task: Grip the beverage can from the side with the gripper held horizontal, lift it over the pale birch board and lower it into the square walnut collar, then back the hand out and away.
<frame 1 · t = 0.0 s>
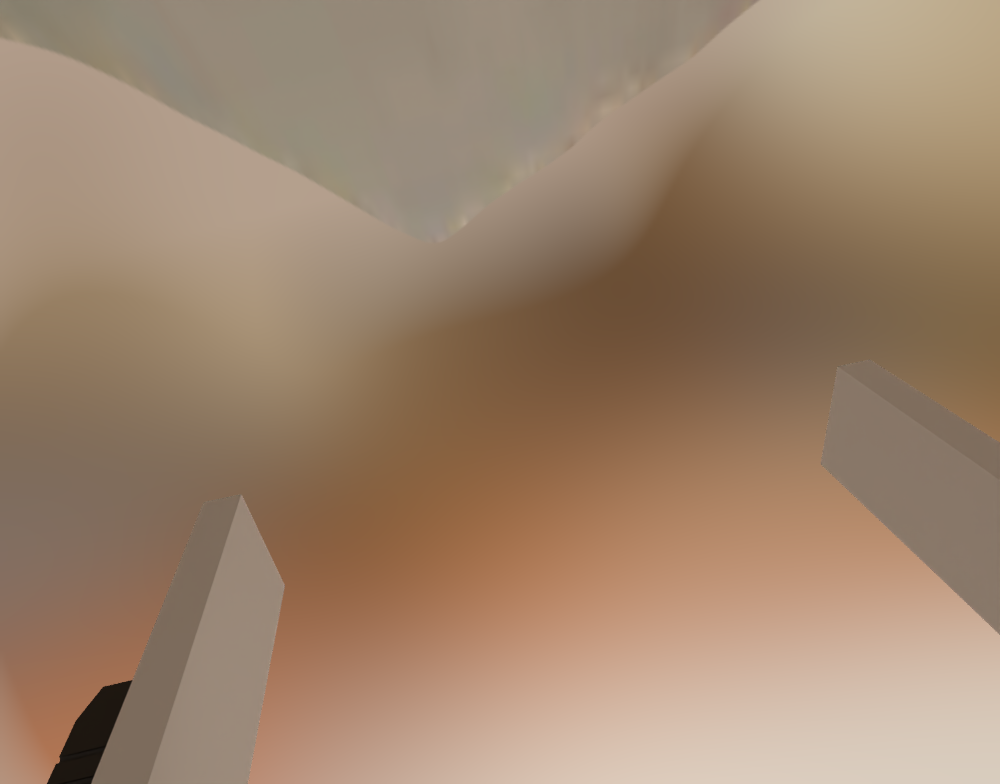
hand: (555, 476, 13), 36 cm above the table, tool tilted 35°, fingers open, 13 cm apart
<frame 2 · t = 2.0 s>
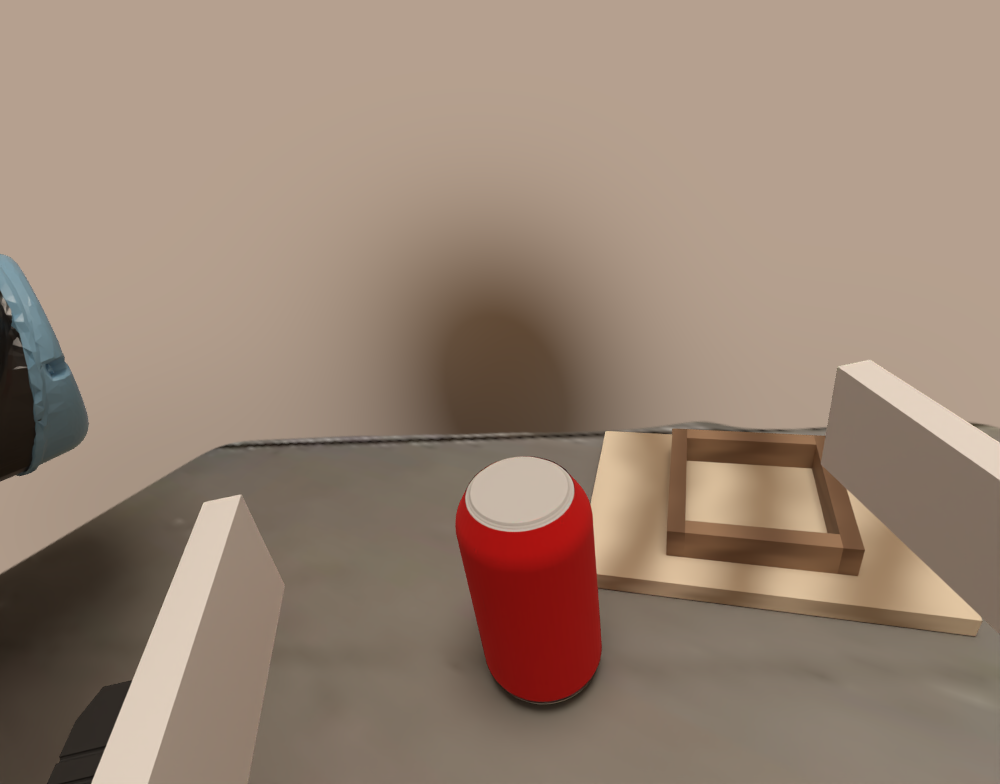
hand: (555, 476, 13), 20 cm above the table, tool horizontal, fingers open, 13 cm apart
beverage can: (544, 659, 32), on the table
collar board: (749, 518, 38), on the table
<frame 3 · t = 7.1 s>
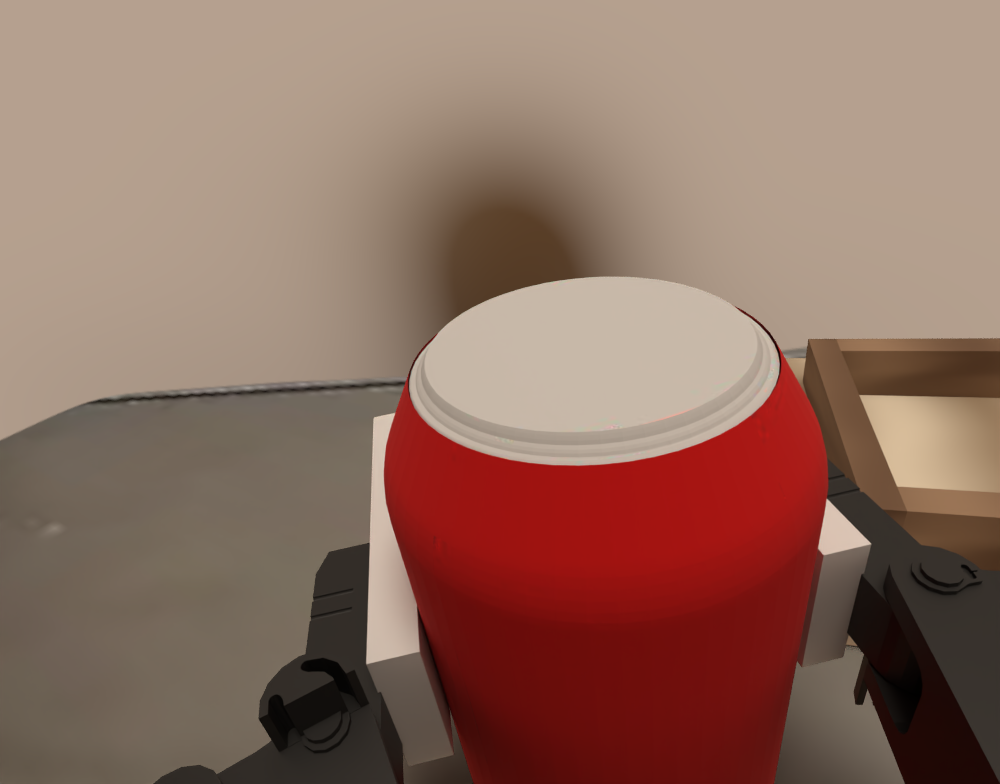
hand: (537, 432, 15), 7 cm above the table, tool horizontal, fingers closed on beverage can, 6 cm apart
collar board: (981, 489, 20), on the table
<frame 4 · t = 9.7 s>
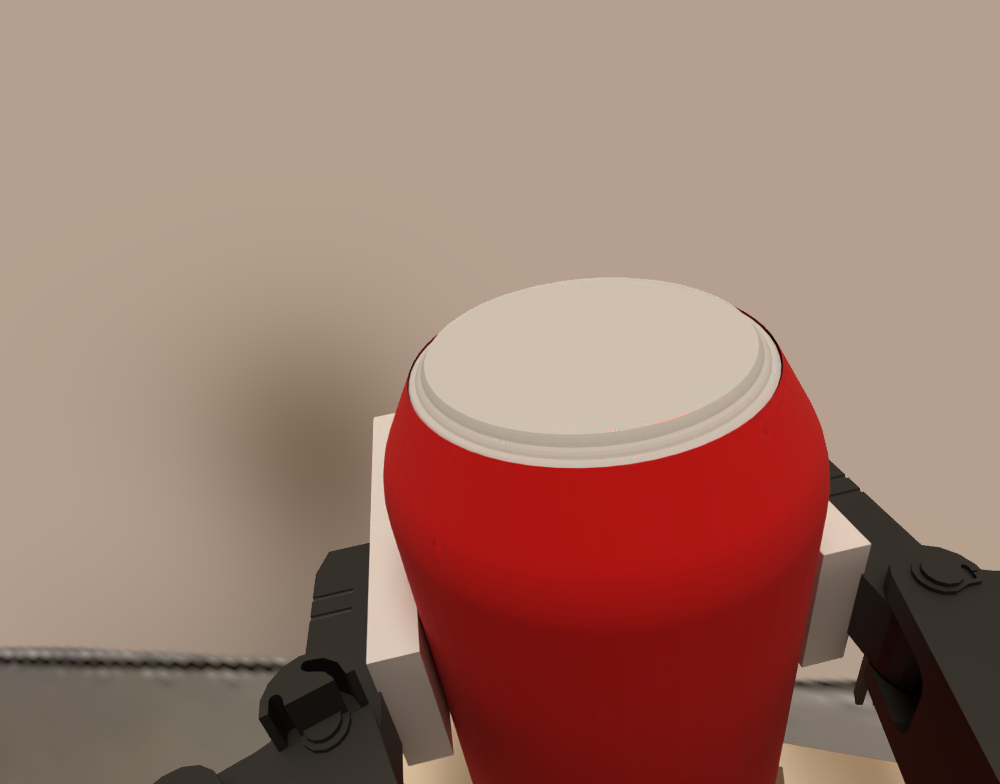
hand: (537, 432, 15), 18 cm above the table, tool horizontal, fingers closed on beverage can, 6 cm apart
when the fingers open (10 cm above the table, at t = 12.5 s): beverage can drops 1 cm, resting on collar board.
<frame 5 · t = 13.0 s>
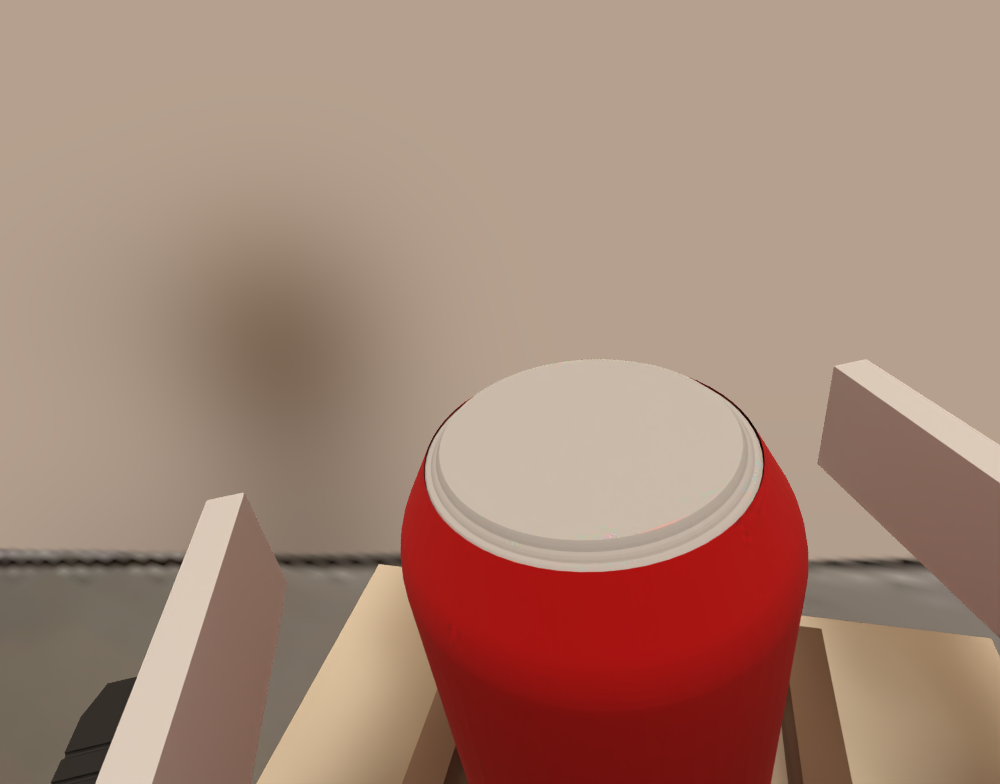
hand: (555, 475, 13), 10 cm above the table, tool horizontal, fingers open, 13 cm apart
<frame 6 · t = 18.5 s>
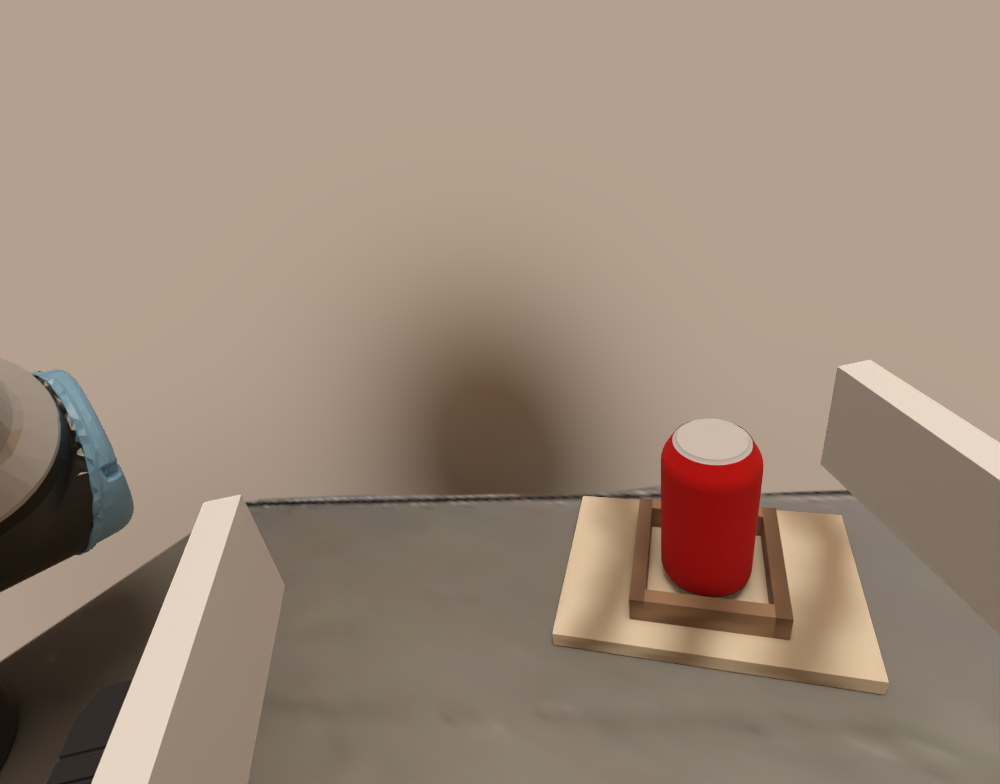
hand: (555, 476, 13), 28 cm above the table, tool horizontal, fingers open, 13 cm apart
beverage can: (704, 573, 43), point 1 cm above the table, touching collar board
collar board: (705, 582, 44), on the table
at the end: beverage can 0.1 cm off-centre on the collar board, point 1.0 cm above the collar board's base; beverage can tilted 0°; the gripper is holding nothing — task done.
